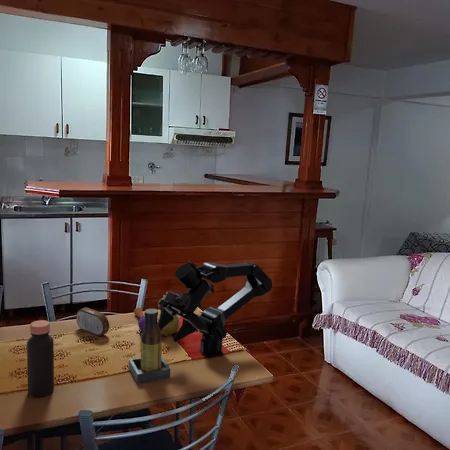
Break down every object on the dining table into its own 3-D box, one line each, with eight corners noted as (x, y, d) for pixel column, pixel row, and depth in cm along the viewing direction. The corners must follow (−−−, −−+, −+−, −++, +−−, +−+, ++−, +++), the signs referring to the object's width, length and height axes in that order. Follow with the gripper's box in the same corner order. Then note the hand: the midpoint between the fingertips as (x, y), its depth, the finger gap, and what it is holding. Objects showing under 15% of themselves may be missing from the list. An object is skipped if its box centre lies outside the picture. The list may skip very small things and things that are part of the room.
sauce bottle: (150, 364, 148) (152, 304, 144) (165, 371, 144) (167, 309, 141) (135, 372, 142) (136, 310, 139) (150, 379, 139) (152, 315, 135)
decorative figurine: (159, 327, 179) (161, 289, 176) (181, 328, 178) (182, 291, 176) (154, 337, 169) (155, 297, 167) (176, 339, 169) (178, 299, 166)
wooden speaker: (109, 336, 168) (110, 314, 167) (103, 339, 166) (103, 316, 164) (81, 325, 176) (81, 304, 175) (74, 328, 173) (74, 306, 172)
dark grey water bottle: (28, 399, 126) (26, 329, 122) (27, 387, 132) (26, 320, 128) (54, 395, 129) (54, 326, 125) (53, 383, 135) (52, 317, 131)
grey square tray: (159, 363, 150) (160, 354, 150) (170, 377, 141) (170, 368, 141) (128, 368, 146) (128, 359, 146) (137, 383, 137) (137, 374, 137)
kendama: (146, 305, 191) (157, 319, 172) (143, 319, 191) (154, 335, 172) (132, 303, 189) (141, 317, 170) (129, 317, 189) (138, 333, 170)
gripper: (163, 274, 153) (133, 313, 148) (199, 290, 139) (167, 333, 134) (182, 293, 159) (154, 331, 154) (218, 309, 146) (188, 352, 140)
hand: (165, 336), depth 145 cm, fingers open, 9 cm apart
